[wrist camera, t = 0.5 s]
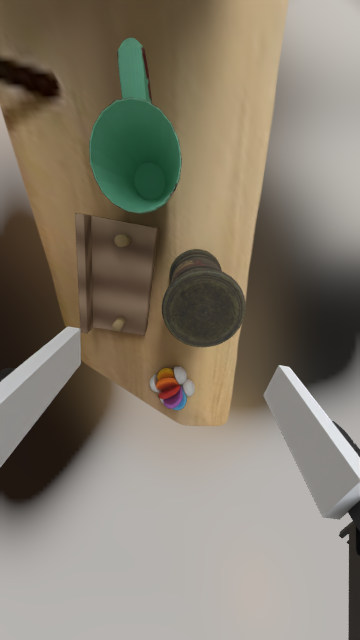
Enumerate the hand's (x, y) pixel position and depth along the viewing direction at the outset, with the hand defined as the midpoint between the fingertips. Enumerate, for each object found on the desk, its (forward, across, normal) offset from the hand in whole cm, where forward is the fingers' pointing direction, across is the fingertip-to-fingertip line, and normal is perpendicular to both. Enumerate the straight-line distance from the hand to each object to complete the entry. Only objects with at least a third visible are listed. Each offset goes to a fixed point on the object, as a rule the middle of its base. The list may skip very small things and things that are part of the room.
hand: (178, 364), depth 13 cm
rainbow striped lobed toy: (+26, +3, -24) cm, 35 cm away
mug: (+25, -8, +16) cm, 31 cm away
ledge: (+25, -11, -2) cm, 27 cm away
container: (+25, +2, +1) cm, 26 cm away
